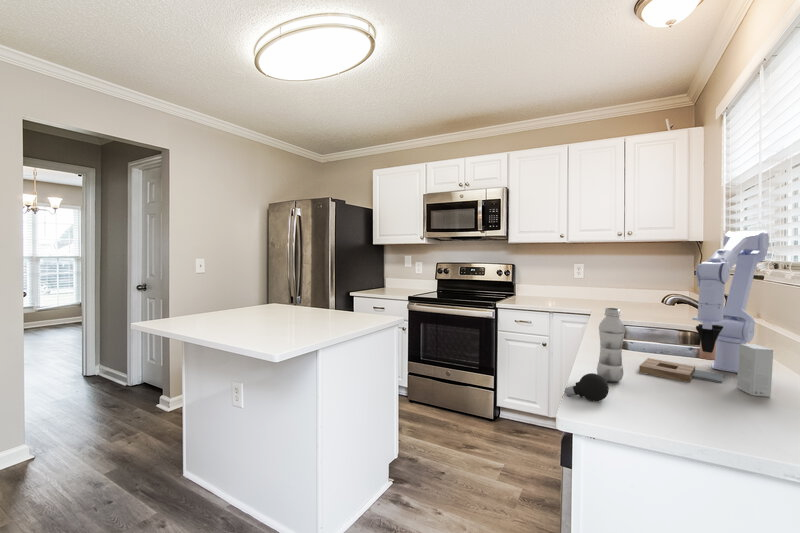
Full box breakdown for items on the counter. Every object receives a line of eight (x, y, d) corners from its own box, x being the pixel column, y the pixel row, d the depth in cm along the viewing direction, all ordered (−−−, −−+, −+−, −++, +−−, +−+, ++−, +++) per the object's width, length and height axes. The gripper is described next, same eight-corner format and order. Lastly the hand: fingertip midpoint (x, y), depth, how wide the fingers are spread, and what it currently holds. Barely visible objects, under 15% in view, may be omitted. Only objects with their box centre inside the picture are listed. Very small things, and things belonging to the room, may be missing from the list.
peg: (699, 356, 114) (700, 336, 113) (715, 358, 111) (716, 338, 111) (699, 358, 111) (700, 338, 111) (715, 361, 109) (716, 340, 108)
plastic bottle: (625, 380, 106) (629, 308, 106) (619, 386, 102) (622, 311, 101) (600, 375, 111) (603, 306, 110) (593, 380, 106) (596, 308, 105)
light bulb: (559, 374, 97) (601, 366, 93) (568, 396, 98) (611, 389, 93) (559, 387, 92) (604, 379, 87) (569, 411, 92) (614, 404, 88)
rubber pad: (693, 371, 117) (693, 369, 117) (723, 376, 112) (723, 374, 112) (689, 377, 111) (690, 375, 111) (721, 383, 106) (721, 381, 106)
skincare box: (771, 397, 96) (774, 350, 95) (751, 395, 97) (754, 348, 96) (754, 389, 102) (757, 344, 101) (736, 387, 103) (738, 343, 102)
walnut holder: (647, 364, 123) (648, 357, 123) (694, 372, 115) (695, 366, 115) (639, 372, 114) (639, 365, 114) (689, 382, 106) (689, 375, 106)
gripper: (696, 300, 118) (694, 344, 119) (690, 304, 108) (687, 352, 108) (726, 302, 114) (724, 348, 114) (722, 307, 103) (719, 357, 104)
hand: (708, 350), depth 111 cm, fingers closed on peg, 4 cm apart
